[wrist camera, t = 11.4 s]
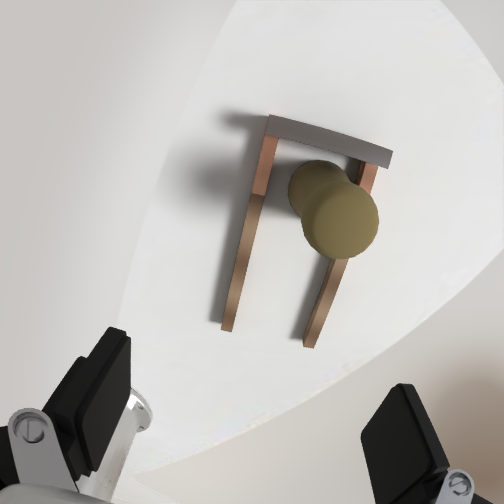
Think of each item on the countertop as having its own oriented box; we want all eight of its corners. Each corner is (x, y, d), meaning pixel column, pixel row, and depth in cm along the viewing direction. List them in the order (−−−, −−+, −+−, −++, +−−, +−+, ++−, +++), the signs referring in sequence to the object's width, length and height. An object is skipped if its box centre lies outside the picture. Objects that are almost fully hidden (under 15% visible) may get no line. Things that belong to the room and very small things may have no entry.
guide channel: (312, 340, 35) (315, 363, 32) (222, 321, 35) (217, 344, 31) (378, 147, 27) (393, 150, 23) (269, 116, 27) (269, 114, 23)
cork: (275, 202, 30) (278, 243, 20) (309, 147, 28) (332, 159, 17) (328, 234, 31) (355, 288, 20) (363, 182, 29) (408, 213, 18)
